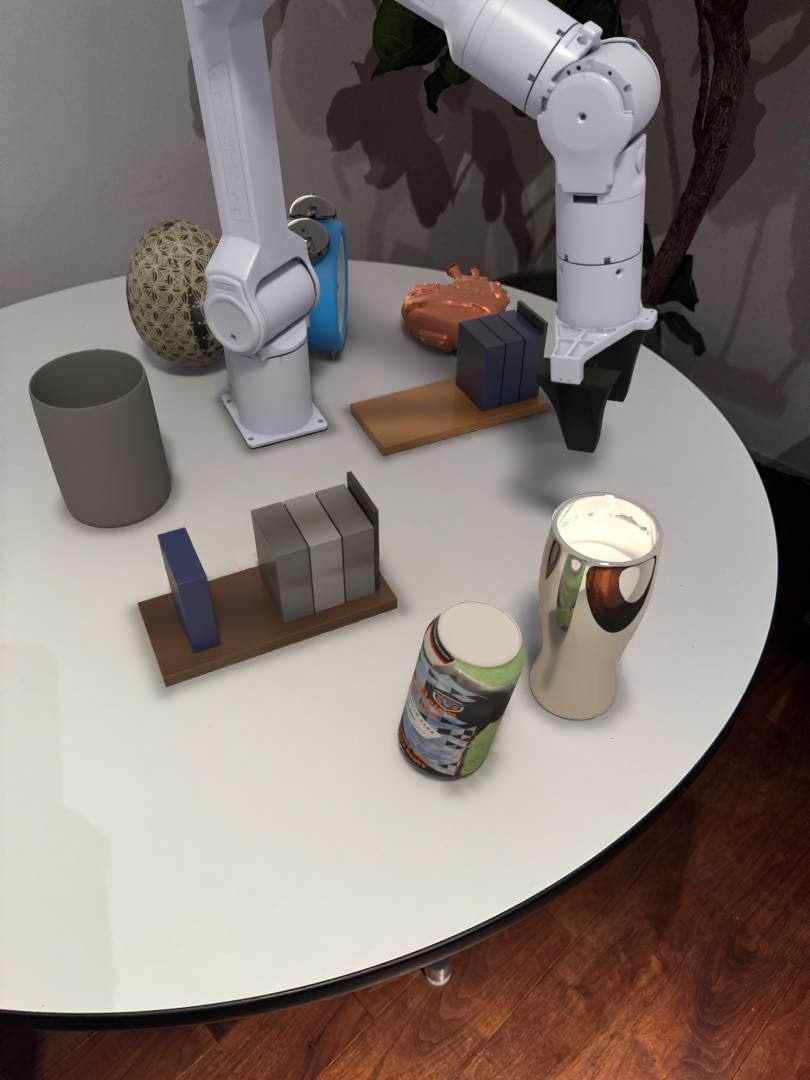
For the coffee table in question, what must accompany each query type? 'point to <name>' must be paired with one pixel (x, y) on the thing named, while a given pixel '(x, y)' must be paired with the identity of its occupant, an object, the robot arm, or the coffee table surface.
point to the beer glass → (592, 599)
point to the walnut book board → (241, 625)
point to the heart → (451, 306)
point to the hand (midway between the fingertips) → (597, 423)
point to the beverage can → (461, 688)
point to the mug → (101, 436)
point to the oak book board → (430, 415)
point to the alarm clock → (324, 269)
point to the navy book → (189, 589)
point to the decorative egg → (173, 292)
